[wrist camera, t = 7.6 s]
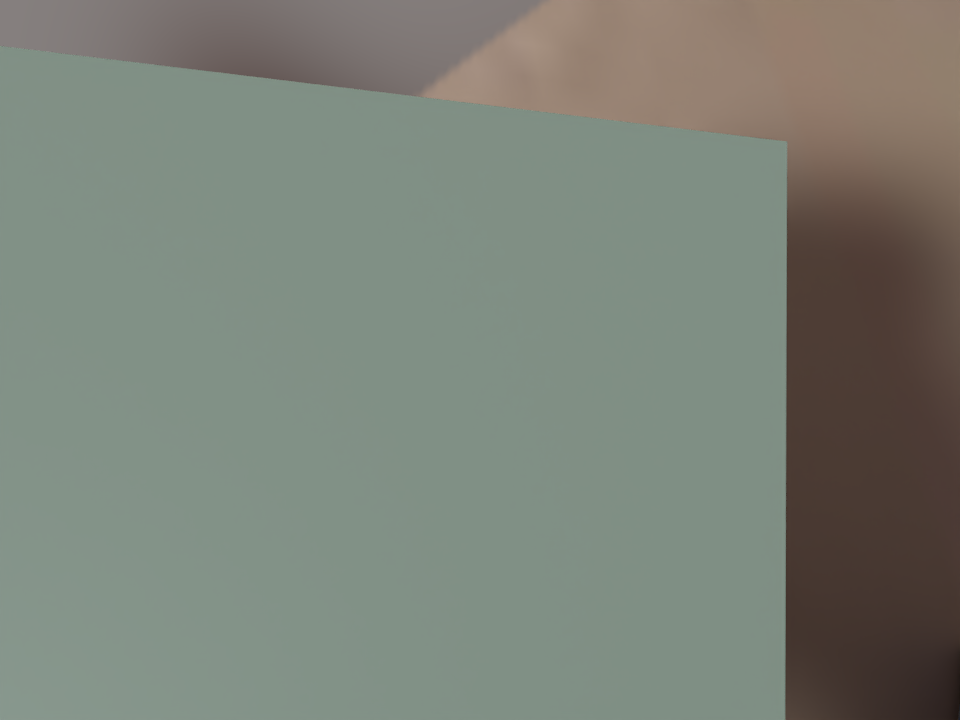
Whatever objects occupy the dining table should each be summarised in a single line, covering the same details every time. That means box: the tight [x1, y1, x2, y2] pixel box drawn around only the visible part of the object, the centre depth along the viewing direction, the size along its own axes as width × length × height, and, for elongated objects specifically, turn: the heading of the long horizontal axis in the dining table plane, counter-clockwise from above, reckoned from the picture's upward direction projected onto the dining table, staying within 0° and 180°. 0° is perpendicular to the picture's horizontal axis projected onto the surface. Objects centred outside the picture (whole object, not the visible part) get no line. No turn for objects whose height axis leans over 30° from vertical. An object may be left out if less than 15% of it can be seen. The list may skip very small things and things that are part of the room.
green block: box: [0, 46, 787, 720], centre depth 8 cm, size 5×7×11 cm
